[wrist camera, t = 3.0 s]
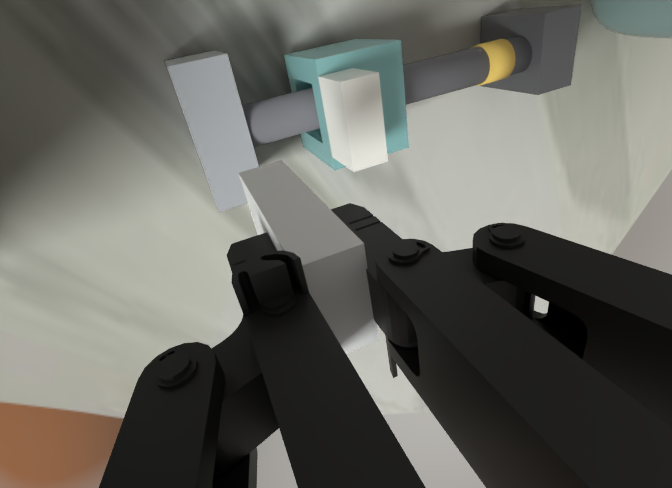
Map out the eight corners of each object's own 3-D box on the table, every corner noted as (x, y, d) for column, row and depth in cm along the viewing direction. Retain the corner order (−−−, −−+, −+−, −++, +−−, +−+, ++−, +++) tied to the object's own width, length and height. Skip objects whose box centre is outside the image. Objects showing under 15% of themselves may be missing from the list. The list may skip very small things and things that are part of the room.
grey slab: (208, 183, 28) (218, 212, 23) (164, 60, 24) (166, 66, 19) (249, 171, 29) (267, 196, 24) (214, 50, 25) (227, 53, 20)
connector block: (480, 85, 33) (537, 94, 28) (481, 16, 30) (545, 13, 25) (509, 77, 33) (570, 84, 29) (513, 9, 31) (581, 4, 26)
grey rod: (231, 148, 25) (238, 158, 23) (217, 105, 23) (224, 112, 21) (504, 72, 30) (531, 75, 28) (506, 34, 29) (534, 34, 26)
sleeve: (303, 146, 28) (355, 186, 21) (283, 54, 25) (337, 63, 18) (366, 128, 30) (437, 159, 22) (355, 38, 26) (433, 40, 19)
